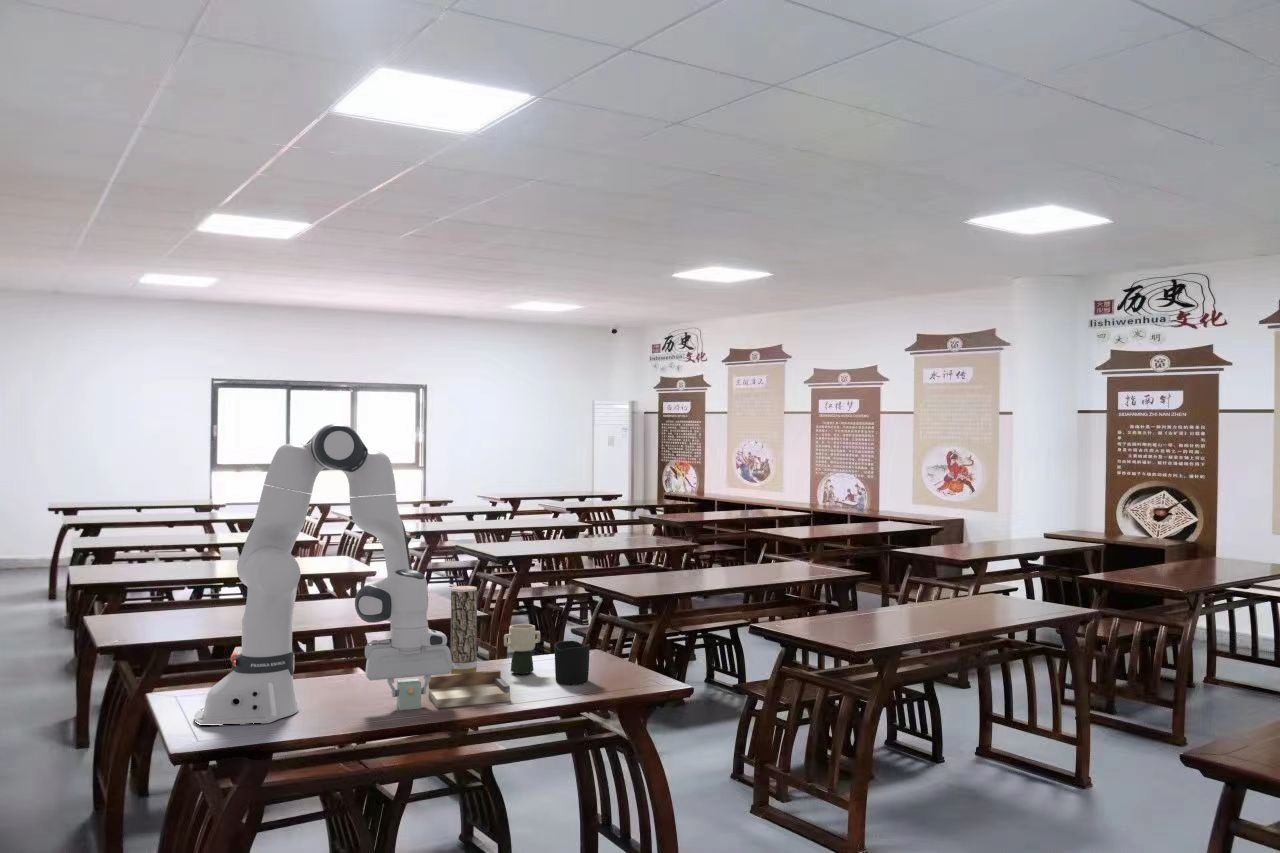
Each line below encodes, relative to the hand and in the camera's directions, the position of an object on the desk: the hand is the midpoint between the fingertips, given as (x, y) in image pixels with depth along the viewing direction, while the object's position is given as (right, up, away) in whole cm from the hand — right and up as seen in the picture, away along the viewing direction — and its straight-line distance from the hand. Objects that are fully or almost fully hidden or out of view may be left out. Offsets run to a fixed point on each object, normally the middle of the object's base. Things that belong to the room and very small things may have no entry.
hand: (408, 695), depth 233 cm
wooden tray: (+13, -3, +7) cm, 15 cm away
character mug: (+23, -4, +34) cm, 41 cm away
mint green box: (0, -3, 0) cm, 3 cm away
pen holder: (+38, -3, +24) cm, 45 cm away
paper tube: (+9, -3, +24) cm, 26 cm away
